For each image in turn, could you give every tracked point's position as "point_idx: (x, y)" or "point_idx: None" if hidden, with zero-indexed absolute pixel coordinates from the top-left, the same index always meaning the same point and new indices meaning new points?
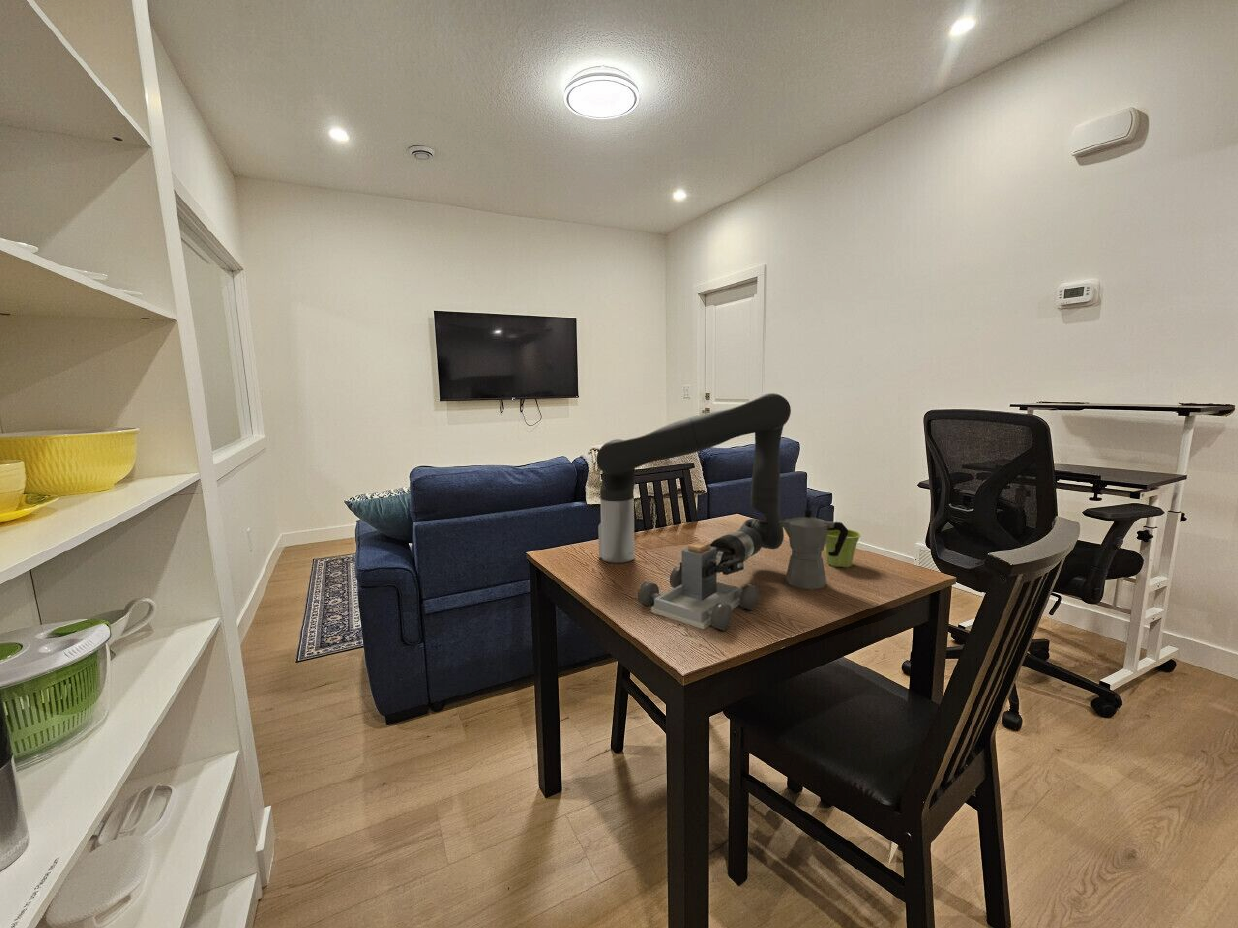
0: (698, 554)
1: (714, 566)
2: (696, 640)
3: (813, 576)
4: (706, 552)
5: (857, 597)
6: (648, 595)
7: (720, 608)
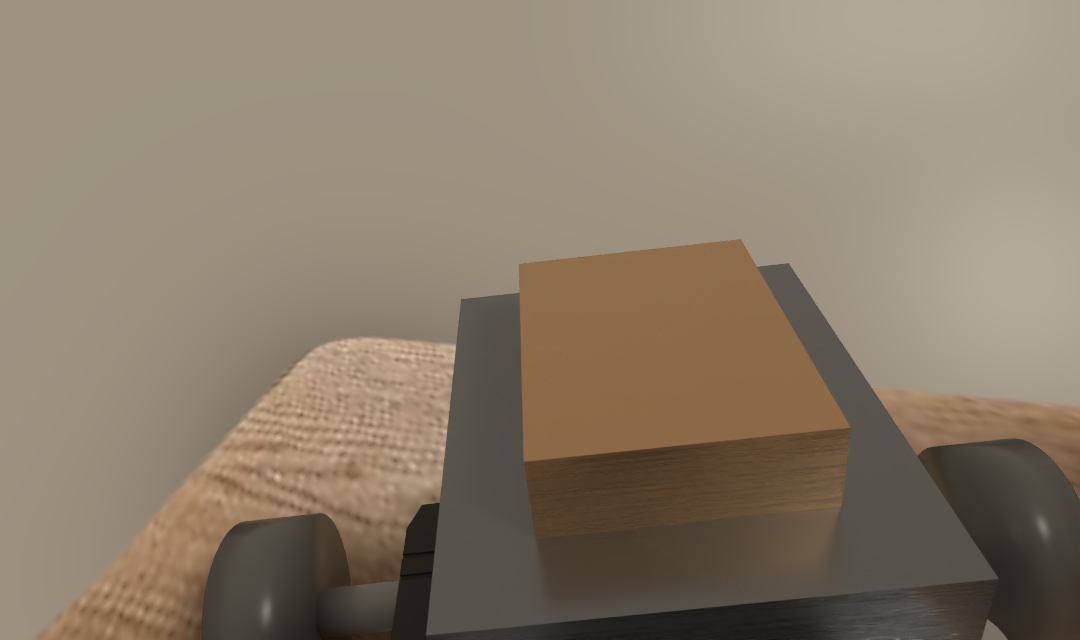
0: (514, 298)
1: (412, 631)
2: (390, 487)
3: None
4: (456, 370)
5: None
6: None
7: (257, 522)
